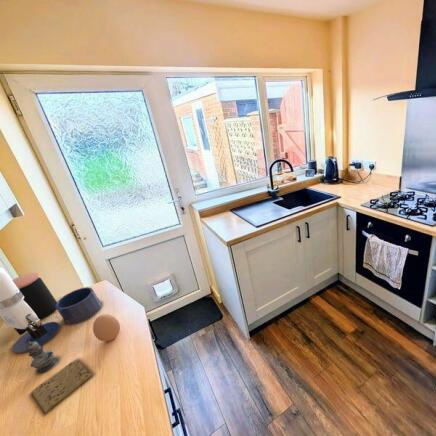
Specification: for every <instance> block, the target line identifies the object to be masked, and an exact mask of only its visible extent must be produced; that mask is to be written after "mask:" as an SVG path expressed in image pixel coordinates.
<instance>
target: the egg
mask: <svg viewBox="0 0 436 436" xmlns="http://www.w3.org/2000/svg"><path fill="white" fill-rule="evenodd" d="M92 324H93V325H92V332H93V335H94V337H95V339H97V340H99V341H101V342H109V341H113V340H114V339H116V337H117V336H119V334H120V331H121V324H120V321H119V320H118V319H117V318H116V317H115V316H113V315H111V314H108V313H107V314H105V313H103V314H100V315H99V316H97V317H95V319H94V321H93V323H92Z"/></svg>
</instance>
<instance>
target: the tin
mask: <svg viewBox="0 0 436 436" xmlns="http://www.w3.org/2000/svg"><path fill="white" fill-rule="evenodd" d="M55 307H56V311H57V312H58V313H59V314H60V316H61V318H62V320H63V321H64V322H65V324H67V325H76V324H79V323H82V322H84V321H87V320H88V319H90V318H92V317H93V316H95V314H97V313H98V312H99V311H100V309H101V307H102V302H101V301H100V299H99V298H98V295H97V294H96V292H95V290H94V288H92V287H89V286H87V287H81V288H78V289H75V290H72V291H70V292H69V293H66V294H65V295H63V296H62V297H61V298H59V300H57V303H56V305H55Z"/></svg>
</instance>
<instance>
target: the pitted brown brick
mask: <svg viewBox="0 0 436 436" xmlns="http://www.w3.org/2000/svg"><path fill="white" fill-rule="evenodd" d="M91 377H92V373H91V372H90V371H88V370H87V369H86V368H85V366H83V364H81V363H80V361H79V360H78V359H75V360H73V361H71V362H70V363H68V364H67V365H65V366H64V367H63V368H62V369H61V370H59V371H58V372H56V374H54V375H53V376H51V377H49V378H48V379H47V380H45V381H44V382H42V383H41V384H39V385H38V386H37V387H36V388H35V389H34V390H32V391H31V394H32V396H33V397H34V399H35V400H36V402H37V404H38V405H39V407H40V408H41V410H42V411H43V413H45V414H46V413H48V412H49V411H50V410H51V409H52V408H54V407H55V406H56V405H57V404H58V403H59V402H61V401H62V400H64V399H65V398H66V397H67V396H69V395H70V394H71V393H72V392H74V391H75V390H76V389H77V388H78V387H79V386H81V385H82V384H83V383H84V382H86V381H87V380H89V379H91Z"/></svg>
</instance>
